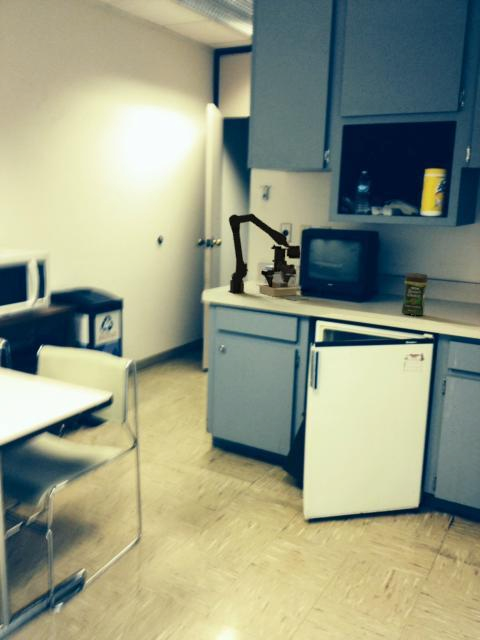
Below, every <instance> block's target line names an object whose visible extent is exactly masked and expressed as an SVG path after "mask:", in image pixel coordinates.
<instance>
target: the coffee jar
mask: <svg viewBox="0 0 480 640" xmlns="http://www.w3.org/2000/svg"><path fill="white" fill-rule="evenodd" d="M404 286H405V292H404V296H403V302H402V306H401V314H403V313H404V314H403V315H406V314H412V315H422V316H424V315H423V314H425V297H426V296H425V294H426V289H427V286H428V275H427V274H425V273H417V272H408V273H406V275H405V278H404Z"/></svg>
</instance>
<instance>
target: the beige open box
mask: <svg viewBox="0 0 480 640" xmlns="http://www.w3.org/2000/svg"><path fill="white" fill-rule="evenodd" d="M256 286H259V291H258V292H259V294H263V295H266V296H271V297H286V296H298V295H297V294H298V293H297V292H298V289H300V287H299V286H296V287H295V286H291V285H288V287H286V288H271V287H269V285H268V284H265V283H257V284H256Z"/></svg>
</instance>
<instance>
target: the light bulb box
mask: <svg viewBox="0 0 480 640" xmlns="http://www.w3.org/2000/svg"><path fill="white" fill-rule="evenodd" d="M272 268H274V264H273V265H265V268H264V269H271V270H272ZM273 276H274V278H273V281H280V274H274V275H273ZM264 284H268V282H267V280H266V278H265V277H264Z"/></svg>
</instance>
